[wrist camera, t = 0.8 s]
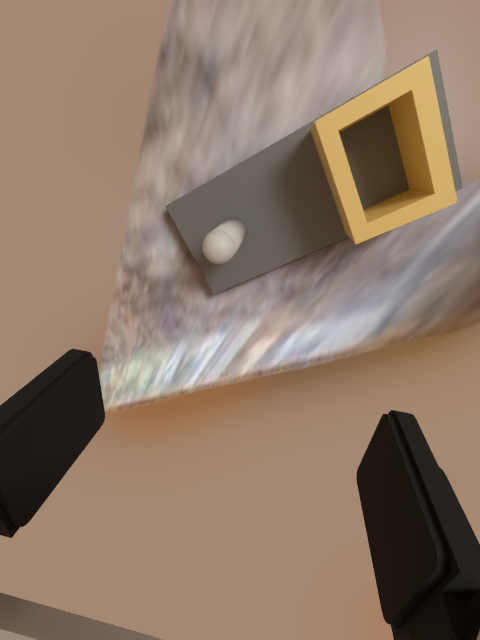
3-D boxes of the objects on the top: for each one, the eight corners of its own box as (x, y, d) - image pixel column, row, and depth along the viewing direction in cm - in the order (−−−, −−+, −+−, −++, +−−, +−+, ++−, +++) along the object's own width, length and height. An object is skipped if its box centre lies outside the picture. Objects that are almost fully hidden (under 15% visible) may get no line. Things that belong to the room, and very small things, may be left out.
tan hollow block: (401, 78, 22) (428, 55, 17) (428, 196, 25) (457, 202, 21) (310, 130, 24) (314, 121, 20) (345, 232, 27) (355, 244, 23)
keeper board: (428, 56, 22) (508, -10, 14) (453, 187, 26) (530, 195, 17) (170, 204, 30) (125, 217, 22) (217, 289, 33) (192, 328, 25)
